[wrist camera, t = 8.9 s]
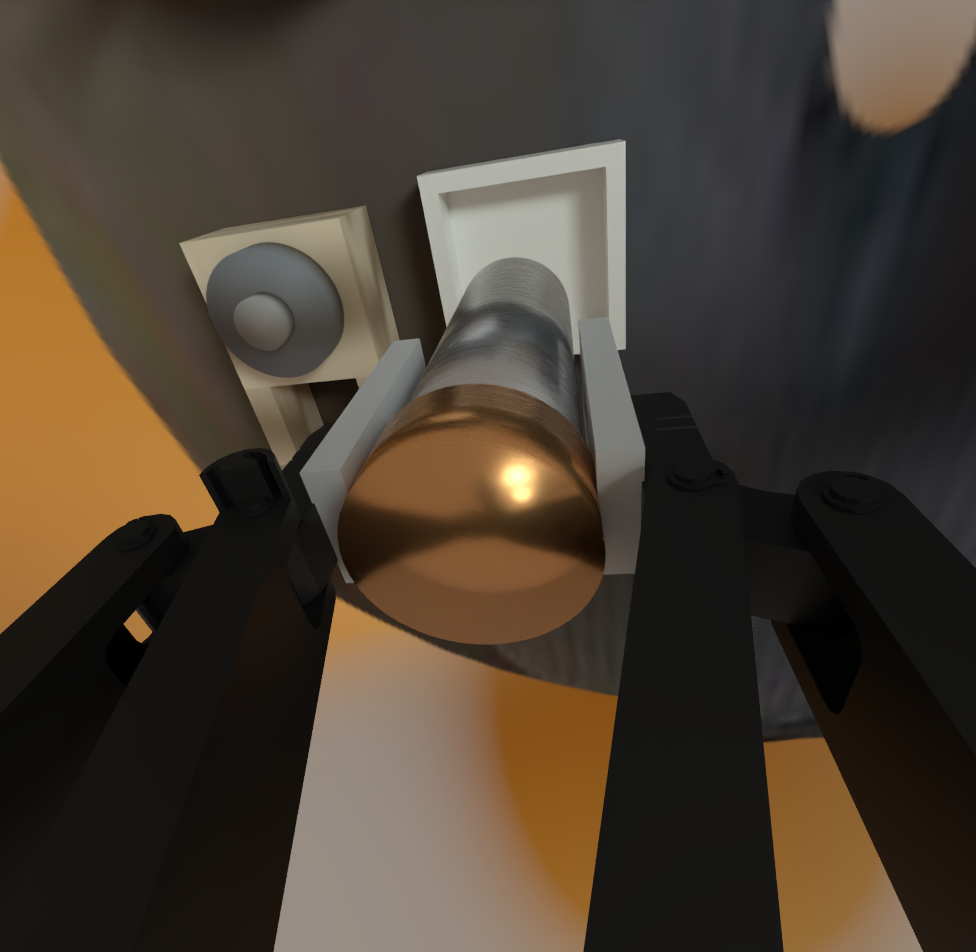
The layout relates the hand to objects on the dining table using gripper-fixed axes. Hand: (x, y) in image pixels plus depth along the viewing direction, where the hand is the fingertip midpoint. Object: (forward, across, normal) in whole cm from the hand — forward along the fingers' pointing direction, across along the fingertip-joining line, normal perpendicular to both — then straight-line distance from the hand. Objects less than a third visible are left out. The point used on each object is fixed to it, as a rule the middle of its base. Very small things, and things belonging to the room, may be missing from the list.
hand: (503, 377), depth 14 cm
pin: (+6, 0, 0) cm, 6 cm away
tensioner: (+15, -12, -3) cm, 19 cm away
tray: (+15, 0, 0) cm, 15 cm away
